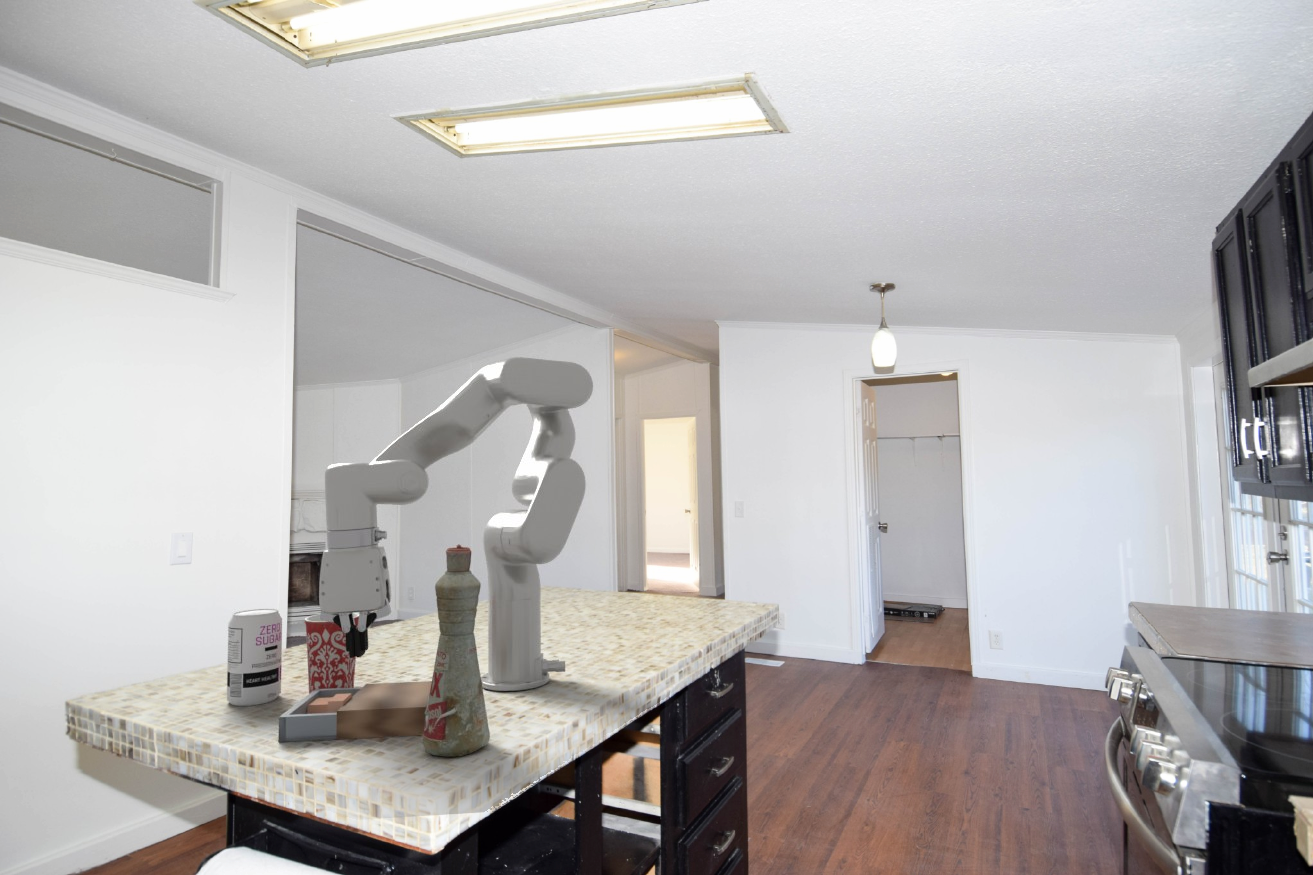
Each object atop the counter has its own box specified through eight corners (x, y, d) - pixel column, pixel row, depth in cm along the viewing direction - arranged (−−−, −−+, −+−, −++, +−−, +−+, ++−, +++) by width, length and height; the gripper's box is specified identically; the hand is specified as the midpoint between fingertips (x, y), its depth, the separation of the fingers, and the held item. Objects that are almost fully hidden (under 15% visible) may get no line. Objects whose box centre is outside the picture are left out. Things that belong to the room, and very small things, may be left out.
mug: (354, 698, 129) (355, 619, 130) (297, 702, 127) (298, 621, 128) (366, 680, 141) (367, 607, 142) (315, 683, 140) (316, 610, 140)
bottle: (485, 758, 99) (484, 545, 101) (415, 761, 99) (416, 547, 100) (494, 736, 108) (493, 541, 110) (429, 739, 107) (430, 542, 109)
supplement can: (240, 694, 133) (241, 608, 134) (288, 692, 134) (289, 607, 134) (217, 708, 125) (219, 616, 126) (268, 705, 125) (270, 615, 126)
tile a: (351, 693, 115) (336, 694, 115) (343, 700, 111) (327, 701, 111) (351, 719, 115) (336, 720, 115) (343, 728, 111) (327, 728, 111)
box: (366, 708, 123) (366, 686, 123) (336, 739, 108) (336, 714, 108) (315, 710, 122) (315, 689, 122) (278, 742, 107) (278, 717, 107)
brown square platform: (447, 705, 124) (447, 680, 124) (428, 734, 109) (428, 706, 110) (366, 708, 123) (366, 683, 123) (336, 739, 108) (336, 710, 108)
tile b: (317, 697, 120) (316, 711, 119) (307, 705, 116) (307, 719, 115) (342, 696, 120) (342, 710, 120) (334, 704, 116) (333, 718, 116)
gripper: (406, 534, 124) (411, 646, 124) (312, 540, 123) (317, 653, 122) (395, 539, 117) (400, 657, 116) (295, 545, 115) (299, 665, 115)
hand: (357, 655), depth 119 cm, fingers closed
